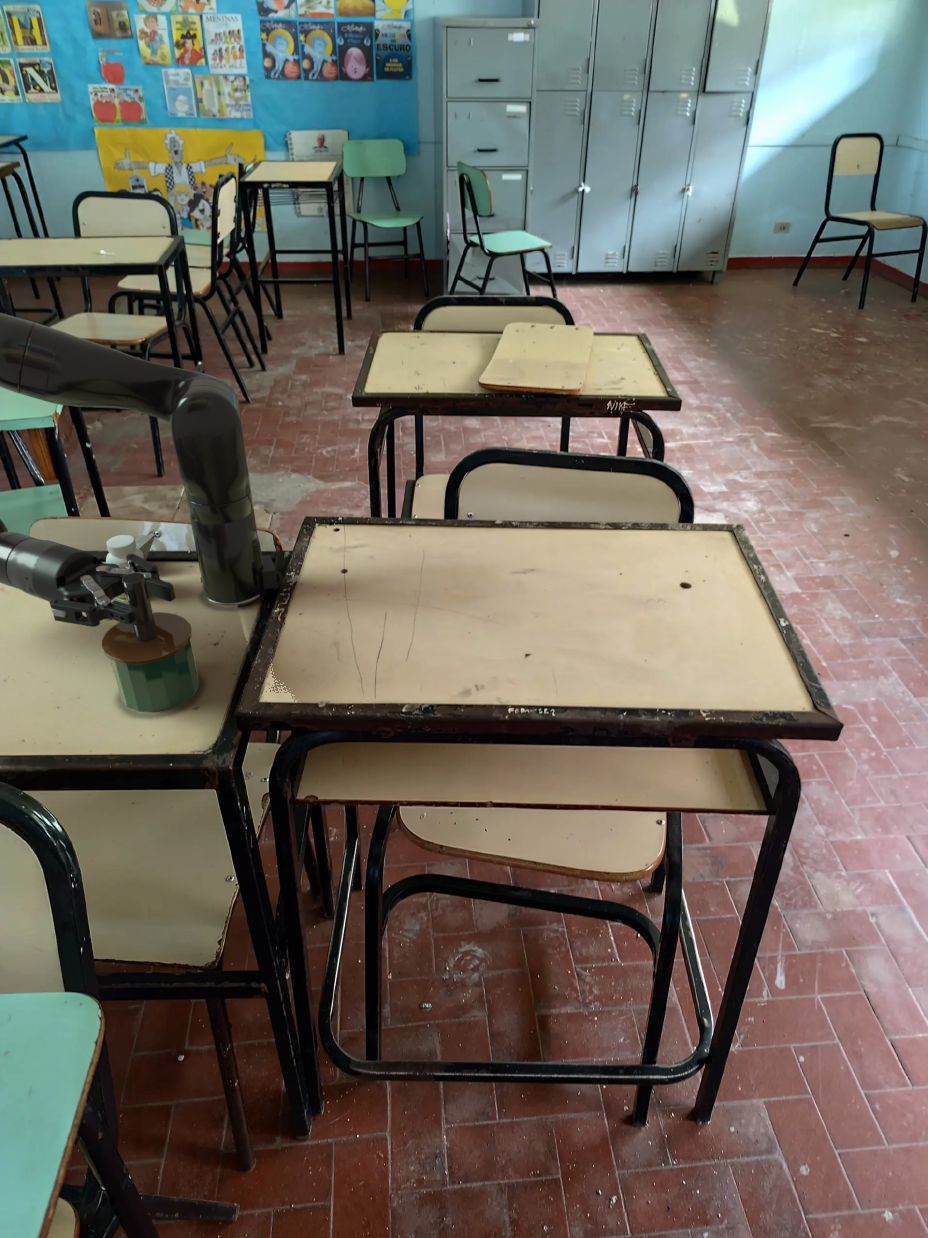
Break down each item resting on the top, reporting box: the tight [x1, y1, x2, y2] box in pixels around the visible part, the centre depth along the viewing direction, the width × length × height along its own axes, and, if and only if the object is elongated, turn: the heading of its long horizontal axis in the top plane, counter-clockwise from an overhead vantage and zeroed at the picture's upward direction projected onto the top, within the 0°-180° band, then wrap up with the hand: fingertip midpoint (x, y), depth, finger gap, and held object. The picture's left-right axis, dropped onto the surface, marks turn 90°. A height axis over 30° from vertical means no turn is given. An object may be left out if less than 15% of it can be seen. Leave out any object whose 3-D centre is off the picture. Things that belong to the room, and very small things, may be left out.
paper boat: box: [133, 530, 157, 561], centre depth 138 cm, size 12×6×9 cm
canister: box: [109, 638, 200, 713], centre depth 110 cm, size 10×10×8 cm
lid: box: [101, 573, 193, 664], centre depth 105 cm, size 11×11×10 cm
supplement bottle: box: [105, 534, 144, 602], centre depth 129 cm, size 5×5×10 cm
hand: (155, 604), depth 103 cm, fingers open, 5 cm apart
